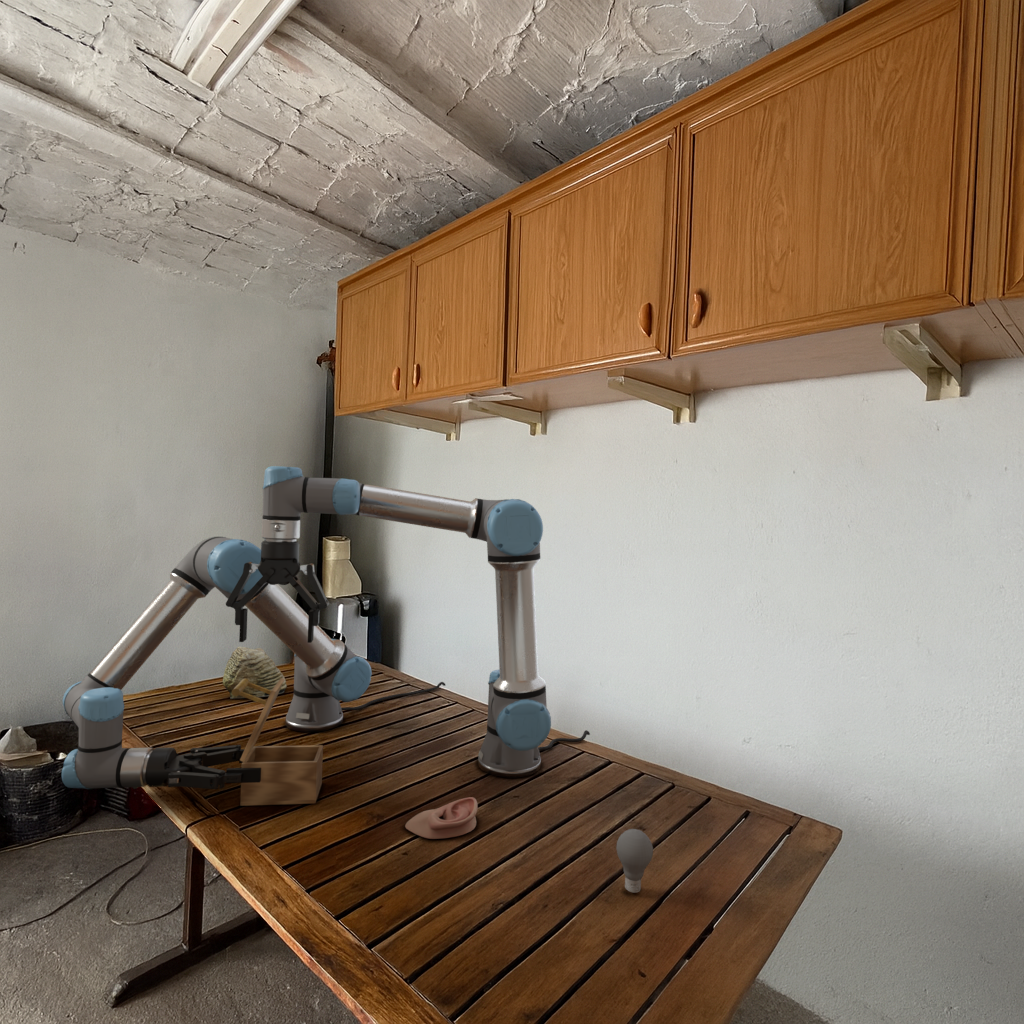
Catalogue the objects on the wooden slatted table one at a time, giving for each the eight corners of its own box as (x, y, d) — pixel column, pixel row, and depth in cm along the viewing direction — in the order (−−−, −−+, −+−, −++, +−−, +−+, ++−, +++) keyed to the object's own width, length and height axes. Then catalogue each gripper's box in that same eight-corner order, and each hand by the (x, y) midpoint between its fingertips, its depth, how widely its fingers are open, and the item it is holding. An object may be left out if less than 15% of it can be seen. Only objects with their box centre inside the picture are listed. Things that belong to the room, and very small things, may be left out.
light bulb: (610, 879, 108) (613, 822, 108) (644, 879, 109) (647, 822, 109) (619, 902, 102) (622, 840, 102) (655, 901, 103) (658, 840, 103)
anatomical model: (399, 813, 120) (420, 787, 131) (398, 834, 120) (419, 806, 131) (467, 823, 117) (482, 796, 128) (466, 845, 117) (481, 815, 128)
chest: (321, 783, 140) (323, 745, 139) (315, 803, 131) (316, 762, 131) (251, 785, 137) (252, 746, 137) (240, 805, 128) (241, 763, 128)
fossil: (218, 695, 195) (220, 647, 195) (278, 685, 208) (279, 640, 207) (228, 703, 189) (230, 653, 188) (289, 692, 201) (290, 645, 201)
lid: (284, 679, 138) (249, 665, 137) (275, 691, 129) (237, 677, 128) (254, 744, 137) (218, 731, 136) (243, 762, 128) (205, 748, 127)
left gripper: (170, 763, 141) (276, 761, 144) (126, 811, 119) (252, 807, 123) (171, 729, 141) (277, 728, 144) (128, 771, 119) (253, 769, 123)
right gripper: (211, 539, 127) (208, 644, 127) (339, 543, 131) (335, 645, 131) (223, 536, 134) (219, 636, 135) (343, 540, 138) (340, 637, 139)
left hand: (265, 765), depth 133 cm, fingers closed on chest, 9 cm apart
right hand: (276, 641), depth 133 cm, fingers open, 13 cm apart
